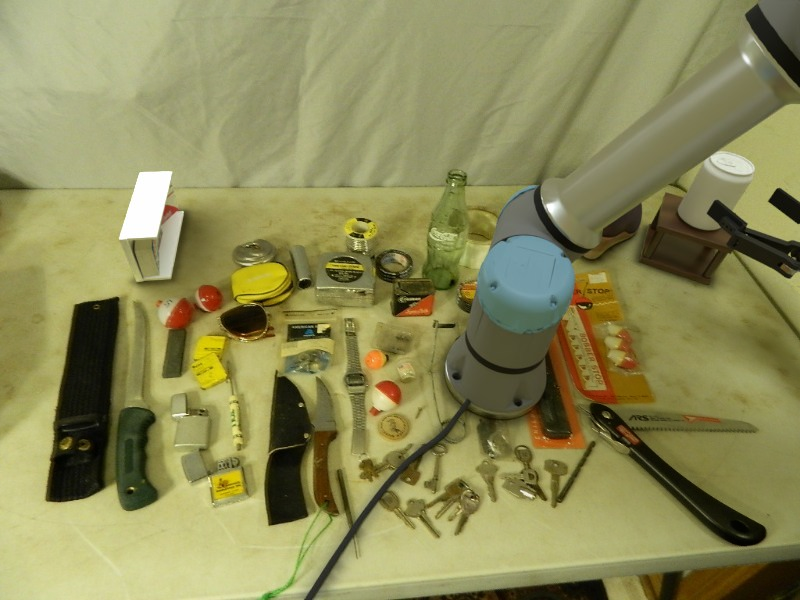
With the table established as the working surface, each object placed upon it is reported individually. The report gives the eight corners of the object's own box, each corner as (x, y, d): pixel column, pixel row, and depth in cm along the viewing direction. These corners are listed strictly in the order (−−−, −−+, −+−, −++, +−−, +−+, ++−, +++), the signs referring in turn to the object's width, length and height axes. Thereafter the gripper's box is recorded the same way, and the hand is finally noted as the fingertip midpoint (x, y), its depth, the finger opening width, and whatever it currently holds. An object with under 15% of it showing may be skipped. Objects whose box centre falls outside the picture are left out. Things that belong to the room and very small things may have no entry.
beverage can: (719, 238, 94) (756, 181, 86) (673, 223, 97) (705, 166, 88) (723, 215, 100) (759, 159, 91) (679, 200, 102) (709, 145, 93)
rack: (708, 285, 99) (734, 249, 93) (638, 261, 103) (658, 225, 96) (712, 248, 107) (736, 212, 100) (647, 227, 110) (665, 192, 104)
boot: (649, 215, 113) (693, 129, 99) (606, 274, 99) (650, 184, 85) (610, 199, 116) (647, 113, 102) (564, 253, 103) (599, 163, 88)
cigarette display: (170, 280, 91) (156, 237, 84) (136, 281, 90) (118, 239, 83) (184, 208, 104) (173, 167, 97) (154, 210, 103) (141, 168, 96)
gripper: (774, 322, 75) (674, 230, 88) (894, 288, 82) (785, 207, 95) (807, 285, 69) (695, 192, 83) (933, 252, 76) (811, 171, 89)
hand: (743, 200), depth 89 cm, fingers open, 13 cm apart
